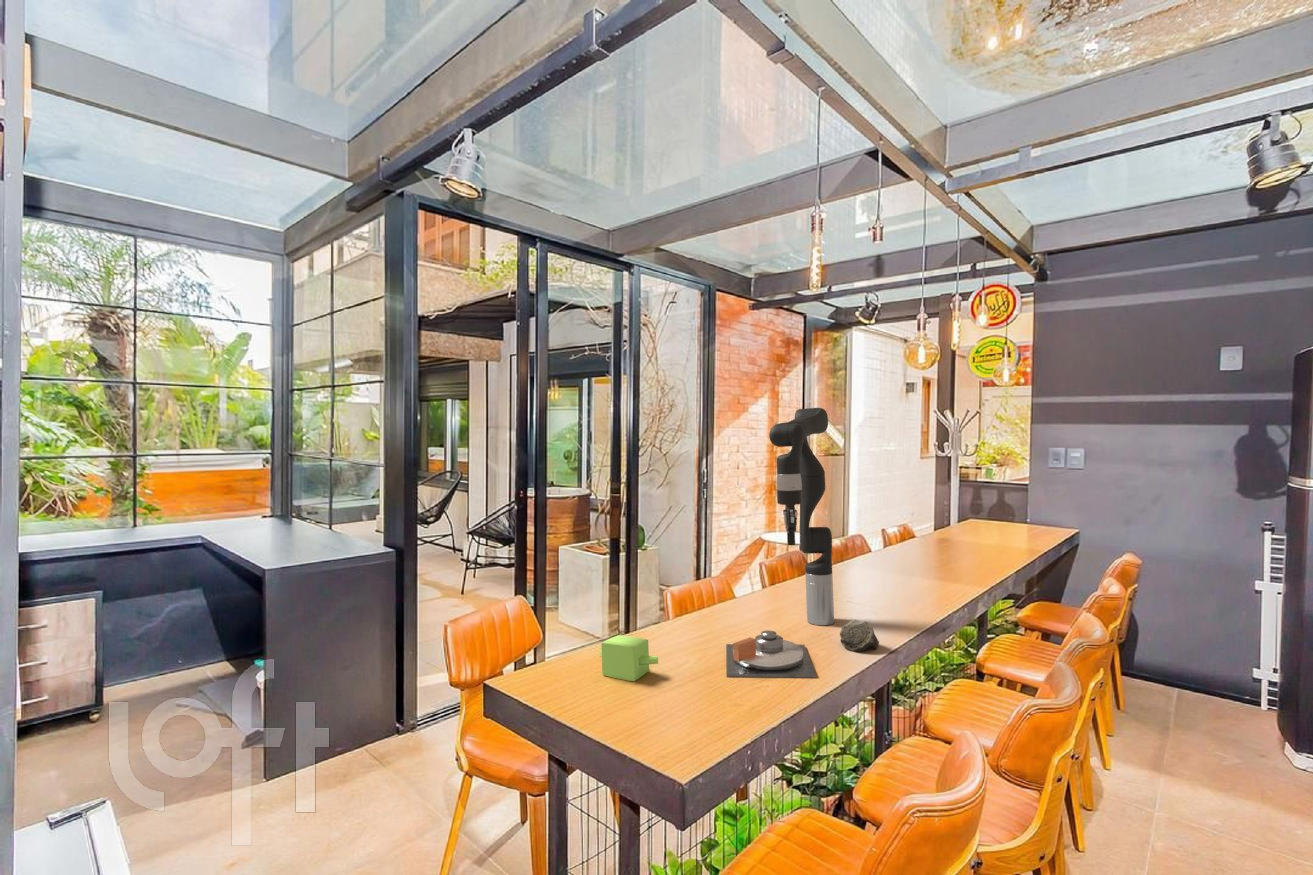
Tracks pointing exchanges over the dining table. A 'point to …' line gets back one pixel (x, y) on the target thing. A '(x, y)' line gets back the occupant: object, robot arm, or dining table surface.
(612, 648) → the gearbox
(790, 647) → the turntable
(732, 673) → the turntable base
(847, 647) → the fossil
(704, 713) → the dining table surface
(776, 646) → the cover
